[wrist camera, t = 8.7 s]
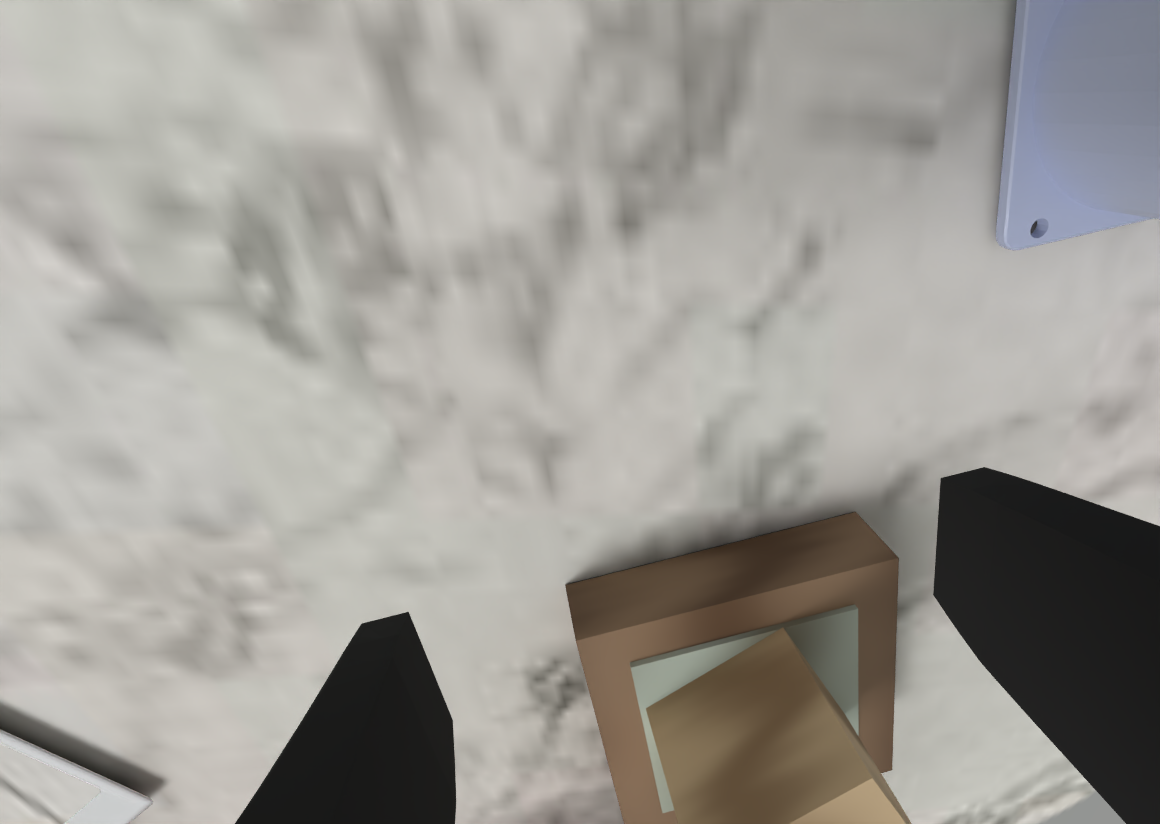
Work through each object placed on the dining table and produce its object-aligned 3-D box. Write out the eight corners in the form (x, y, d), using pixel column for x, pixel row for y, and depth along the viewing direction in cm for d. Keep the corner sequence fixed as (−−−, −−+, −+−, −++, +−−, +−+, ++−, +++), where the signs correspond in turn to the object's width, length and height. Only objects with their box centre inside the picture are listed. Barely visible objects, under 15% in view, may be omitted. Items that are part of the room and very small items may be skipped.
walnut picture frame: (855, 511, 22) (902, 562, 20) (856, 713, 26) (895, 775, 24) (565, 585, 22) (576, 645, 19) (615, 778, 26) (630, 847, 24)
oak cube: (783, 627, 20) (872, 777, 16) (844, 714, 22) (938, 868, 18) (645, 708, 21) (693, 876, 16) (718, 785, 23) (778, 951, 18)
